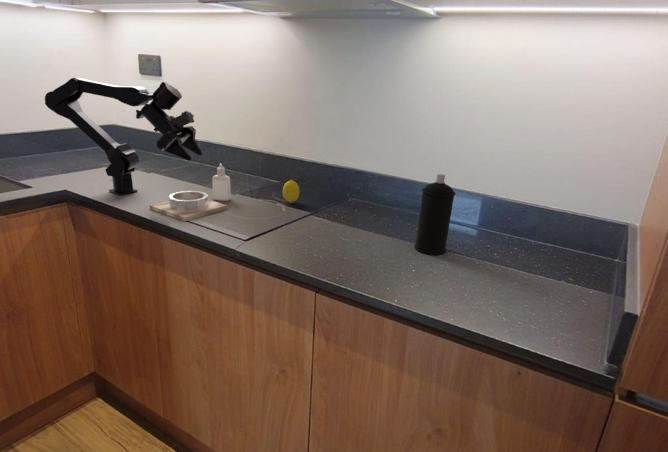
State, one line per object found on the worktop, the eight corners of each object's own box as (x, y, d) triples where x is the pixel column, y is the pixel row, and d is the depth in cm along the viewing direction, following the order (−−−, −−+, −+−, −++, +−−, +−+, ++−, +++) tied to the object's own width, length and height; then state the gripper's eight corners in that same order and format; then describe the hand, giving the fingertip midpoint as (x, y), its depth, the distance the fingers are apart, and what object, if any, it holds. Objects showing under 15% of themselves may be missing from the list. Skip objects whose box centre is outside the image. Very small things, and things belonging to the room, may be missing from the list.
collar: (162, 205, 128) (161, 195, 127) (191, 198, 137) (191, 189, 136) (185, 213, 123) (185, 203, 122) (215, 205, 132) (215, 195, 131)
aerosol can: (440, 258, 106) (452, 180, 100) (409, 250, 110) (419, 174, 104) (450, 248, 113) (462, 175, 106) (420, 240, 117) (431, 169, 110)
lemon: (296, 206, 140) (297, 182, 137) (280, 204, 141) (280, 180, 138) (300, 201, 145) (301, 179, 142) (285, 200, 146) (285, 177, 143)
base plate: (149, 209, 128) (149, 205, 128) (193, 198, 141) (193, 195, 140) (184, 221, 120) (184, 217, 120) (227, 209, 133) (227, 205, 132)
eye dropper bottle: (222, 202, 139) (221, 166, 135) (211, 198, 142) (209, 163, 138) (232, 199, 142) (231, 164, 138) (221, 196, 145) (220, 161, 141)
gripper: (163, 104, 123) (202, 145, 127) (188, 100, 141) (222, 136, 144) (139, 130, 126) (178, 169, 130) (167, 123, 144) (200, 158, 147)
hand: (196, 157), depth 138 cm, fingers open, 9 cm apart
